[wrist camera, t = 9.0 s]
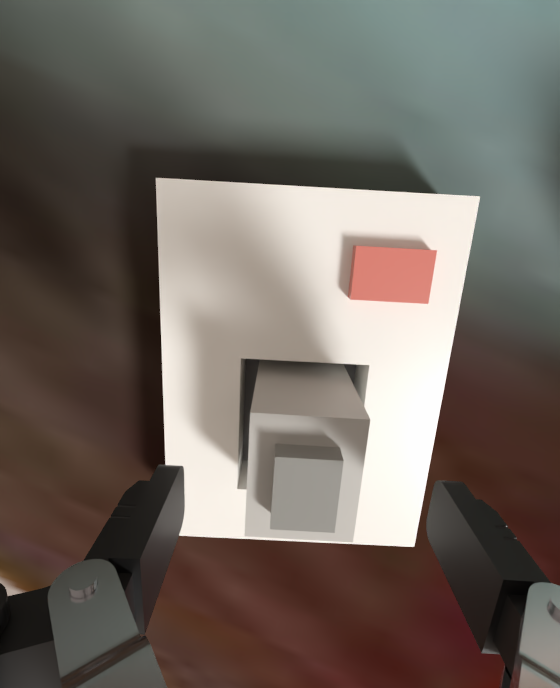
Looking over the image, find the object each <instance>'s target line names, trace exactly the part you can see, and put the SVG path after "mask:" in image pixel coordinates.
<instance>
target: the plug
mask: <svg viewBox="0 0 560 688" xmlns="http://www.w3.org/2000/svg"><path fill="white" fill-rule="evenodd" d="M369 426H370V418H369V416H368V414H367V412H366V410H365V407H364V405H363V403H362V401H361V399H360V397H359V395H358V393H357V391H356V389H355V387H354V385H353V383H352V381H351V379H350V377H349V375H348V372H347V370H346V368H345V366H344V364H338V363H319V362H301V361H282V360H263V359H260V361H259V366H258V372H257V377H256V383H255V388H254V394H253V399H252V405H251V411H250V427H249V449H248V471H247V492H246V514H245V536H248V537H266V538H284V539H302V540H320V541H338V542H353V538H354V531H355V524H356V517H357V510H358V503H359V496H360V489H361V482H362V475H363V468H364V461H365V454H366V447H367V440H368V433H369Z"/></svg>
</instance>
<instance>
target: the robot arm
mask: <svg viewBox="0 0 560 688" xmlns="http://www.w3.org/2000/svg"><path fill="white" fill-rule="evenodd" d="M184 511H185V495H184V468H183V466H174V465H158V466H157V468H156V470H155V472H154V474H153V475H152V477H151V479H150V481H138V482H137V483H135V484H134V485H133V486H132V487H130V488H129V489H128V490H127V491H126V492H125V493H124V495H123V496H122V498H121V500H120V501H119V503H118V506H117V507H116V508H115V510H114V511H113V513H112V515H111V518H109V520H108V521H107V523H106V524H105V526H104V528H103V529H102V531H101V533H100V534H99V536H98V538H97V539H96V541H95V543H94V544H93V546H92V548H91V549H90V551H89V552H88V554H87V556H86V557H85V559H84V561H82V562H79V563H77V564H75V565H73V566H71V567H69V568H68V569H66V570H65V571H64V572H62V573H61V574H60V575H59V576H58V577H57V578H56V579H55V581H54V582H53V584H52V585H51V586H48V587H45V588H42V589H38V590H34V591H29V592H25V593H20V594H16V595H12V596H7V592H6V589H5V587H4V586H3V585H2V584H1V583H0V688H167V687H166V684H165V681H164V679H163V676H162V674H161V671H160V668H159V666H158V663H157V661H156V658H155V655H154V653H153V650H152V648H151V645H150V643H149V641H148V639H147V637H146V636H143V637H141V636H140V634H145V632H146V629H147V626H148V624H149V621H150V618H151V615H152V612H153V609H154V606H155V603H156V600H157V597H158V594H159V592H160V589H161V586H162V583H163V580H164V577H165V574H166V571H167V568H168V565H169V563H170V560H171V557H172V554H173V551H174V548H175V545H176V542H177V539H178V536H179V533H180V531H181V528H182V524H183V519H184ZM427 535H428V539H429V542H430V544H431V546H432V548H433V550H434V553H435V555H436V557H437V559H438V561H439V563H440V565H441V567H442V570H443V572H444V574H445V576H446V578H447V580H448V582H449V584H450V587H451V589H452V591H453V593H454V595H455V597H456V599H457V601H458V604H459V606H460V608H461V610H462V612H463V614H464V616H465V618H466V621H467V623H468V625H469V627H470V629H471V631H472V633H473V635H474V638H475V640H476V642H477V644H478V646H479V648H480V650H481V652H482V653H491V654H500V655H501V657H502V659H503V661H504V663H505V665H504V668H503V671H502V675H501V680H500V686H499V688H560V586H558V585H555V584H551V582H550V581H549V580H548V578H547V577H546V576H545V575H544V573H543V572H542V571H541V569H540V568H539V567H538V565H537V564H536V563H535V561H534V560H533V559H532V557H531V556H530V555H529V554H528V552H527V551H526V550H525V548H524V547H523V546H522V544H521V543H520V542H519V541H517V539H516V536H515V535H514V534H513V533H512V531H511V530H510V529H508V526H507V525H506V523H505V522H504V521H503V519H502V518H501V517H500V515H499V514H498V513H497V512H496V511H495V510H494V509H492V508H491V507H490V506H489V505H487V504H486V503H485V502H483V501H482V500H477V499H475V498H474V496H473V495H472V493H471V492H470V491H469V489H468V488H467V487H466V485H465V484H464V483H463V482H456V481H436V482H435V484H434V488H433V492H432V497H431V502H430V507H429V512H428V517H427Z"/></svg>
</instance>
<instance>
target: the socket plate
mask: <svg viewBox="0 0 560 688" xmlns="http://www.w3.org/2000/svg"><path fill="white" fill-rule="evenodd" d="M156 200H157V229H158V259H159V289H160V318H161V348H162V378H163V407H164V437H165V465H174V466H183V468H184V495H185V511H184V519H183V524H182V528H181V531H180V533H179V536H198V537H219V538H240V539H261V540H282V541H302V542H323V543H344V544H365V545H385V546H406V547H414V545H415V540H416V535H417V529H418V524H419V519H420V513H421V508H422V503H423V497H424V492H425V487H426V481H427V476H428V471H429V465H430V460H431V455H432V449H433V444H434V439H435V434H436V428H437V423H438V418H439V412H440V407H441V402H442V396H443V391H444V386H445V380H446V375H447V370H448V364H449V359H450V354H451V349H452V343H453V338H454V333H455V327H456V322H457V317H458V311H459V306H460V301H461V295H462V290H463V285H464V279H465V274H466V269H467V263H468V258H469V253H470V248H471V242H472V237H473V232H474V226H475V221H476V216H477V210H478V205H479V200H480V197H478V196H461V195H443V194H426V193H409V192H392V191H375V190H358V189H340V188H323V187H306V186H289V185H272V184H255V183H237V182H220V181H203V180H186V179H169V178H156ZM260 359H263V360H282V361H301V362H319V363H338V364H344V366H345V368H346V370H347V372H348V375H349V377H350V379H351V381H352V383H353V385H354V387H355V389H356V391H357V393H358V395H359V397H360V399H361V401H362V403H363V405H364V407H365V410H366V412H367V414H368V416H369V418H370V426H369V433H368V440H367V447H366V454H365V461H364V468H363V475H362V482H361V489H360V496H359V503H358V510H357V517H356V524H355V531H354V538H353V542H338V541H320V540H302V539H284V538H266V537H248V536H245V514H246V492H247V471H248V449H249V427H250V411H251V405H252V399H253V394H254V388H255V383H256V377H257V372H258V366H259V361H260Z"/></svg>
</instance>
